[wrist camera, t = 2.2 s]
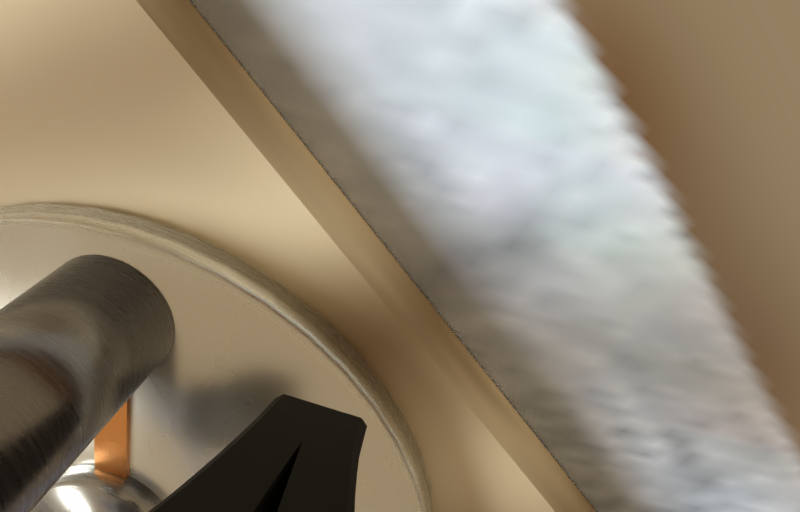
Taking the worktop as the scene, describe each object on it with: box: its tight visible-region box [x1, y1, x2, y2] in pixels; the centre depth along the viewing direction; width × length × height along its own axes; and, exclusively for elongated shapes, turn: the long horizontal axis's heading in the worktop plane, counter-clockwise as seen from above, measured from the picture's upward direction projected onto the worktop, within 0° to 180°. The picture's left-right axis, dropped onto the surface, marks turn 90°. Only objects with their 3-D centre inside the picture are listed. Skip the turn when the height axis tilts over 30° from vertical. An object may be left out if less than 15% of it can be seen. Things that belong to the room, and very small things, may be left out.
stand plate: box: [0, 0, 596, 512], centre depth 15 cm, size 24×16×3 cm, turn 38°
